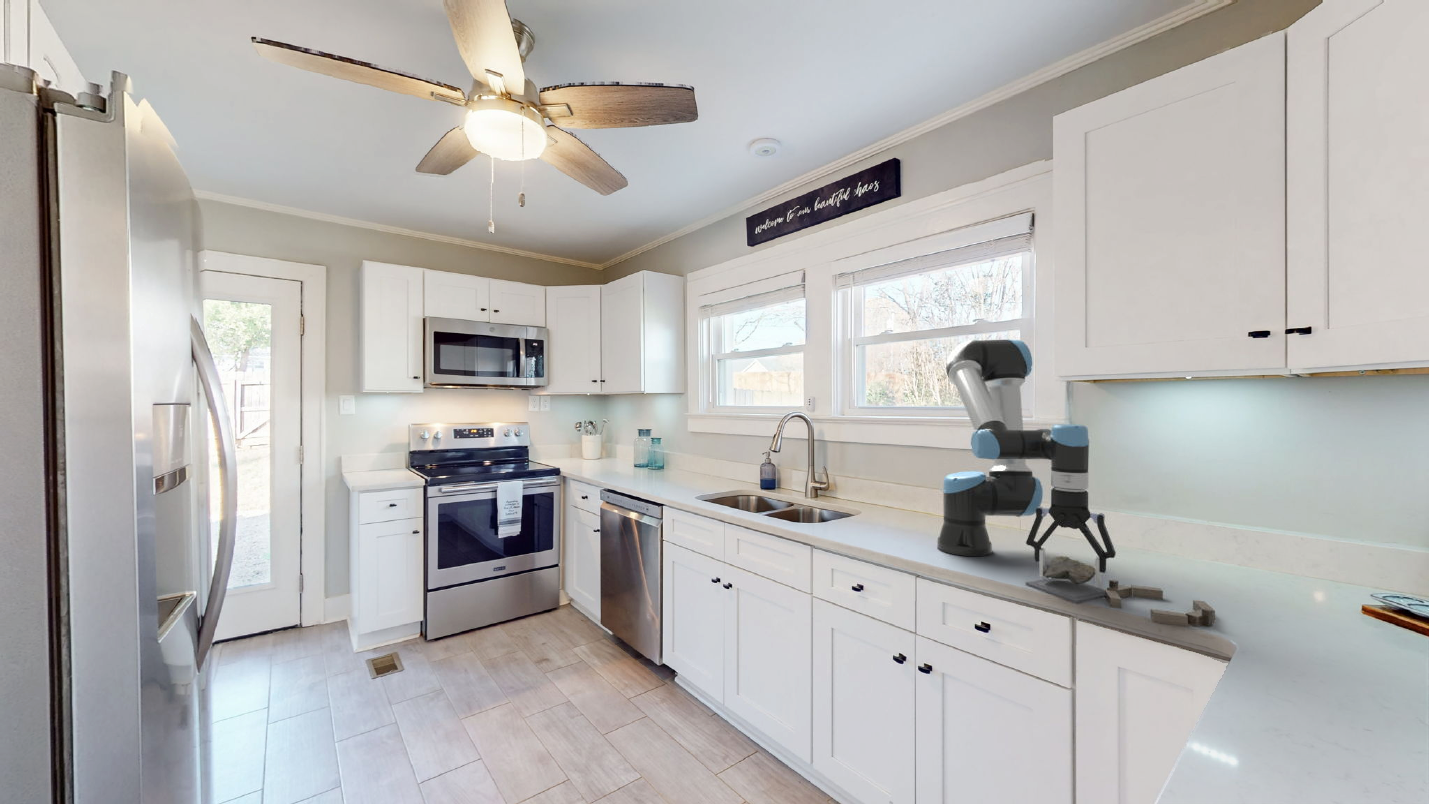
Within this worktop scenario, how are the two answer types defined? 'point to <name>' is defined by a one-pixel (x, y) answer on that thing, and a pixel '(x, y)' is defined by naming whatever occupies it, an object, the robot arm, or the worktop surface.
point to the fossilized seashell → (1069, 570)
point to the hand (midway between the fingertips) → (1069, 580)
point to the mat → (1068, 589)
